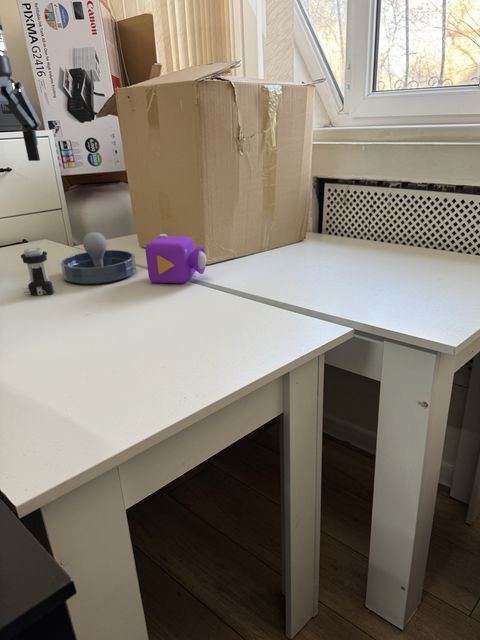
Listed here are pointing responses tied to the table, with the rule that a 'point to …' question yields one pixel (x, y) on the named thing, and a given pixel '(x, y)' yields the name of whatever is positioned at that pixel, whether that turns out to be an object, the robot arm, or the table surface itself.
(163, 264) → the toy camera
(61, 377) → the table surface
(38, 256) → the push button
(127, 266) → the bowl
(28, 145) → the robot arm
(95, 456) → the table surface
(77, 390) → the table surface
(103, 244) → the light bulb
